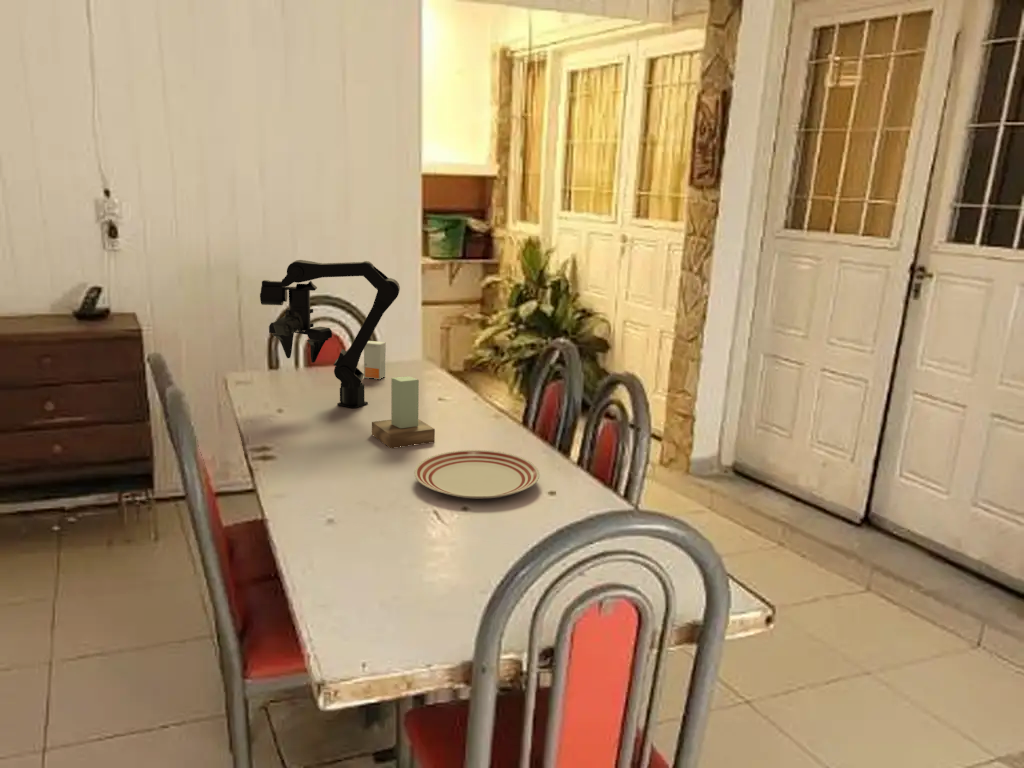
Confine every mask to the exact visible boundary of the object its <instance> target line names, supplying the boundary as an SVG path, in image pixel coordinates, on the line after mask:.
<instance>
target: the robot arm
mask: <svg viewBox="0 0 1024 768" xmlns="http://www.w3.org/2000/svg"><path fill="white" fill-rule="evenodd" d="M338 277H339V278H341V277H344V278H345V277H346V278H347V277H364V278H365V280H367V282H369V283H370V285H372V286H373V287H374V288H375V289H376V290H377V292H376V294H375V298H374V302H373V304H372V307H371V308H370V310H369V312H368V314H367V316H366V318H365V320H364V322H363V323H362V325H361V327H360V329H359V330H358V332H357V334H356V336H355V338H354V340H353V341H352V343H351V345H350V346H349V348H348V349H347V350H345V349H344V348H342V349H341V350H340V353H339V355H338V357H337V359H336V360H335V361H334V363H333V366H334V370H333V374H334V377H335V378H336V379H338V381H340V387H339V402H337V404H336V405H337V406H340V407H341V406H342V407H345V408H351V409H358V408H359V406H360V407H362V406H366V405H368V404H369V402H368V401H366V400H365V384H364V383H362V381H363V378H364V372H362V370H360V369H359V368H358V365H359V361H360V358H361V355H362V353H363V352H364V348H365V346H366V344H367V342H368V341H370V339H371V337H372V334H373V333H374V332H375V329H376V327H377V326H378V324H379V322H380V321H381V319H382V317H383V315H384V313H385V312H386V311H387V310H388V308H389V307H390V306H391V305H392V304H393V303H394V301H396V299H398V297H399V293H400V290H401V287H400V284H399V282H398V281H397V280H396V279H395V278H391V277H388V276H387V275H385V274H384V273H383V272H382V271H381V270H380V269H378V268H377V267H375V265H374V264H373V263H372V262H371V261H367V260H364V261H358V262H357V261H356V262H355V261H352V262H351V261H350V262H328V263H327V262H326V263H325V262H324V263H322V262H316V261H310V260H304V259H298V260H294V261H292V262H291V263H290V264H289V265H287V268H286V275H285V276H284V277H283V278H282V279H281V281H278V280H277V281H274V280H273V281H272V280H267V279H263V280H262V281H261V287H260V293H259V299H260V304H261V305H262V306H284V303H287V302H288V309H285V313H284V316H283V317H280V318H279V319H277V320H276V321H273V322H270V323H269V326H268V332H269V333H270V334H272V336H273V337H274V338H276V339H278V341H279V342H280V344H281V347H282V349H283V351H284V354H285V357H286V359H291V357H292V351H293V341H294V334H301V335H307V337H308V339H307V340H306V341H307V342H308V344H309V347H310V348H309V349H310V361H311V363H313V364H314V363H315V362H316V360H317V358H318V357H319V355H320V352H321V350H322V348H323V346H324V345H325V343H326V341H329V339H332V338H333V331H332V329H331V328H330V327H327V326H316V327H314V323H313V322H311V314H313V313H314V309H313V308H311V293H310V292H311V291H313V292H314V291H316V290H317V289H318V287H317V286H316V285H315V284H314V283H313V282H312V280H316V279H322V278H338ZM305 282H308V283H305ZM294 283H296V286H291V285H292V284H294Z"/></svg>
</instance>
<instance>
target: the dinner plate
mask: <svg viewBox="0 0 1024 768" xmlns="http://www.w3.org/2000/svg"><path fill="white" fill-rule="evenodd" d="M413 474H414V477H415V479H416V481H417V482H419V483H420V484H421V485H423V487H426V488H427V489H430V490H432V491H434V492H436V493H437V492H438V493H441V494H445V495H447V496H453V497H457V498H464V499H473V500H475V499H477V500H480V499H483V500H484V499H494V498H495V499H496V498H503V497H507V496H511V495H514V494H515V495H516V494H518V493H520V492H523V491H525V490H528V489H529V488H531V487H532V486H534V485H535V484H536V483H537V482H538V481H539V479H540V476H541V474H540V470H539V468H538V467H537V466H536V465H535V464H534V463H532V462H531V461H530V460H528V459H526V458H524V457H521V456H519V455H516V454H512V453H507V452H504V451H503V452H501V451H494V450H485V449H484V450H483V449H481V450H480V449H475V450H474V449H468V450H467V449H465V450H463V449H462V450H456V451H455V450H454V451H447V452H443V453H442V452H441V453H438V454H435V455H433V456H432V455H431V456H430V457H428V458H425V459H424V460H422V461H420V462H419V463H418V464H417V465H416V467H415V469H414V471H413Z"/></svg>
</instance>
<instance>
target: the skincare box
mask: <svg viewBox="0 0 1024 768" xmlns="http://www.w3.org/2000/svg"><path fill="white" fill-rule="evenodd" d="M386 347H387V345H386V342H384V341H378V340H377V341H374V340H368V342H367V344H366V346H365V348H364V350H363V374H364V376H363V378H364V379H369V378H374V379H373V380H377V379H381V378H383V377H385V378H386ZM383 379H384V378H383ZM381 380H382V379H381Z"/></svg>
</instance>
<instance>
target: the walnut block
mask: <svg viewBox="0 0 1024 768" xmlns="http://www.w3.org/2000/svg"><path fill="white" fill-rule="evenodd" d="M435 434H436V430H435V428H434V427H432V426H431V425H429V424H427V423H426V422H424V421H423V420H421V419H419V418H418V426H416V427H408V428H398V427H396V426H394V425H392V424H391V419H385V420H378V421H377V420H376V421H371V436H372V435H374V436H375V437H376V438H375V437H374V436H373V437H374V438H375V439H377V440H378V439H379V440H380V441H379V440H378V441H379V442H381V443H382V442H383V443H384V444H383V443H382V444H383V445H385V444H386V445H387V446H389V447H390V448H391V449H395V448H394V447H398V448H403V447H402V446H405V447H409V446H408V445H412V446H415V445H414V444H419V445H422V444H421V443H426V444H430V443H429V442H433V443H435V440H436V439H435ZM386 445H385V446H386ZM387 446H386V447H387ZM400 446H401V447H400ZM389 447H388V448H389ZM390 448H389V449H390Z"/></svg>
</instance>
